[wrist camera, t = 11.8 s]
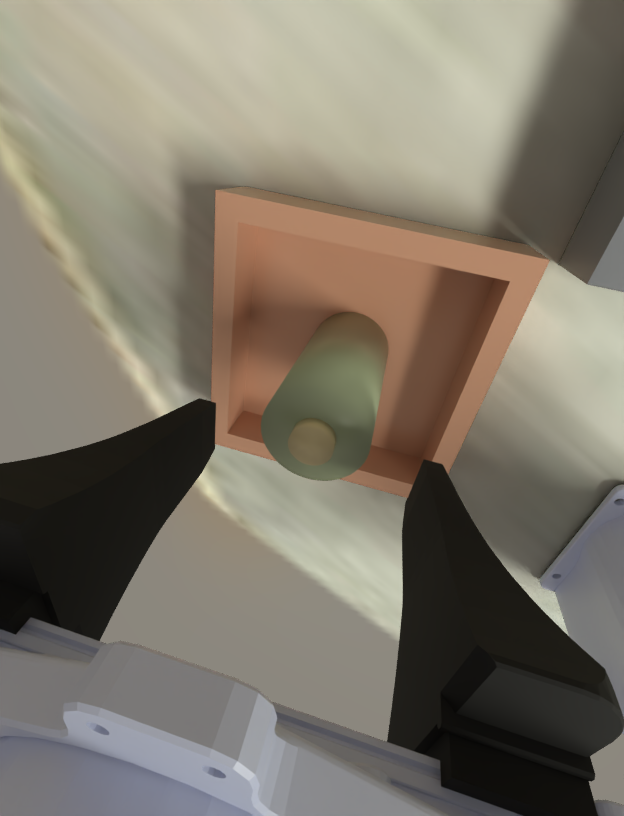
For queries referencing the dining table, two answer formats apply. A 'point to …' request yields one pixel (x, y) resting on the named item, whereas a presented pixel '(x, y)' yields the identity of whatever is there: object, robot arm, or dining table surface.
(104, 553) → the robot arm
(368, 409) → the olive cell
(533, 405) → the dining table surface
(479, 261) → the tray
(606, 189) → the frame
